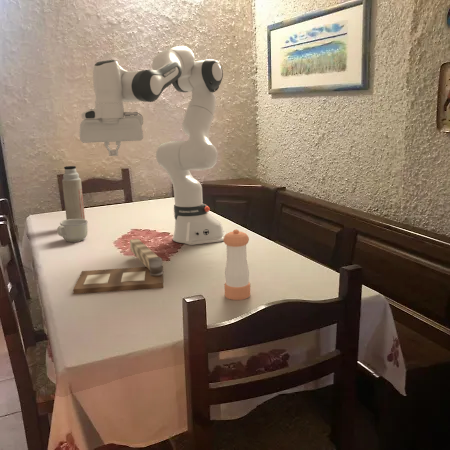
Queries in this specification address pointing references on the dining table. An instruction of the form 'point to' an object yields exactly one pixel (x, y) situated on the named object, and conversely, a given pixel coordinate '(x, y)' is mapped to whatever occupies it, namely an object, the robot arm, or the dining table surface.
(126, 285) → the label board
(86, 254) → the dining table surface
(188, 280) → the dining table surface
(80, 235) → the teacup
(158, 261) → the swing bar
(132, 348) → the dining table surface
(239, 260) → the pepper shaker
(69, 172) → the thermos bottle
